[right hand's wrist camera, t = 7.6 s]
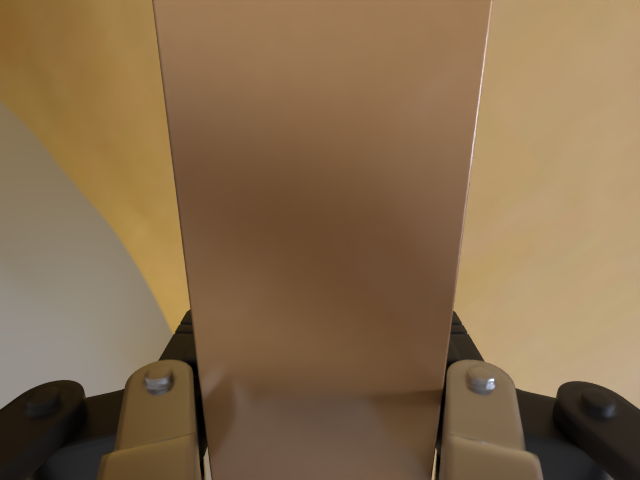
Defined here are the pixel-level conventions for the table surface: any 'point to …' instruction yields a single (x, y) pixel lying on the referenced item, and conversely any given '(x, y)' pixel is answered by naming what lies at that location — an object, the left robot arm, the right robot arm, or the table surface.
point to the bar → (322, 222)
